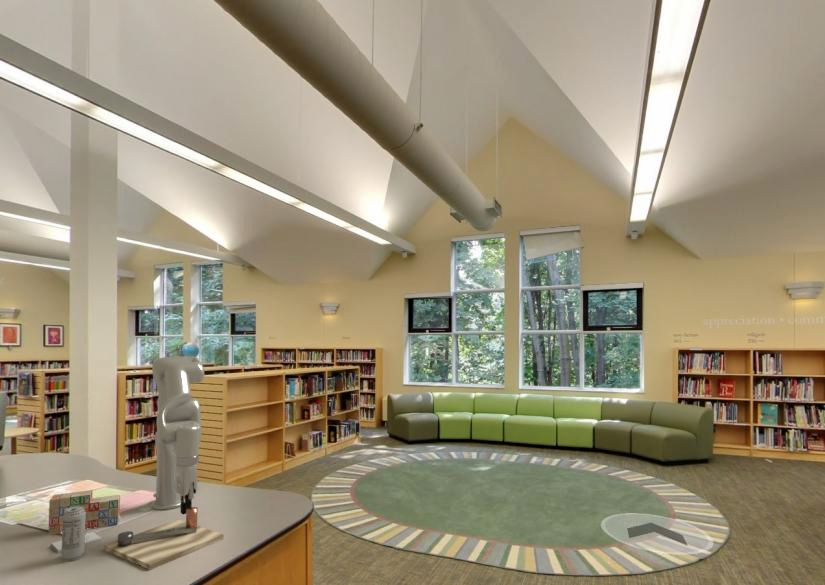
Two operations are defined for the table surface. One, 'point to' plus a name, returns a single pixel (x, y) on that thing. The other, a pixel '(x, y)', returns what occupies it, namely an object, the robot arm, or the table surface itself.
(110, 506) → the stack of blocks
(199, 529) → the board
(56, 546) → the external hard drive
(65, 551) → the energy drink can
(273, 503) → the table surface
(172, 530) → the lever
